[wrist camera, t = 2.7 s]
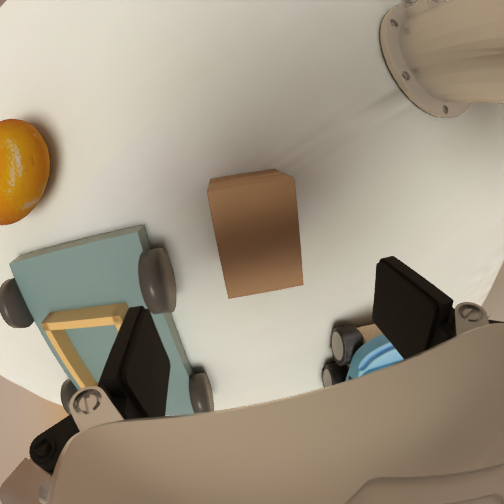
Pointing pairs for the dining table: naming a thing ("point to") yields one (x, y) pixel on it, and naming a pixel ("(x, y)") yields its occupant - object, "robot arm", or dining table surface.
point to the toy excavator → (358, 353)
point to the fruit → (21, 169)
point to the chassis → (101, 308)
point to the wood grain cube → (256, 231)
